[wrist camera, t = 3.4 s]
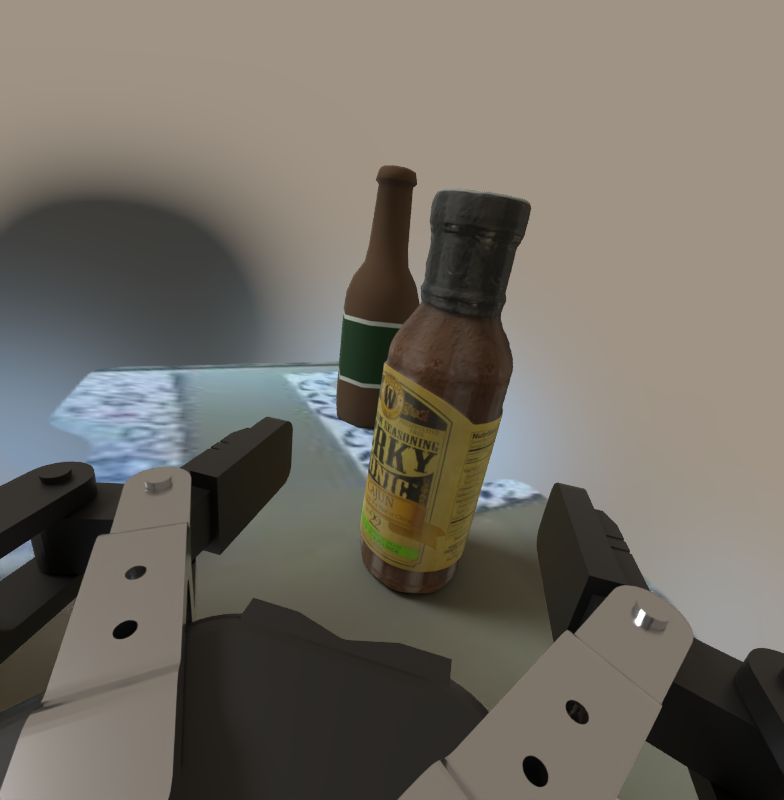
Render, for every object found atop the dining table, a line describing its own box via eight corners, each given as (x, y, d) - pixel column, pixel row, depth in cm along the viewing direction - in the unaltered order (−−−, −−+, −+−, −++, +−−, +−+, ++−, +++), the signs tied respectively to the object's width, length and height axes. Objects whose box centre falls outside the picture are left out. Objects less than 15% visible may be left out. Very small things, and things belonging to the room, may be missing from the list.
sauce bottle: (341, 537, 25) (378, 185, 18) (422, 516, 28) (483, 209, 21) (388, 621, 20) (468, 172, 12) (482, 584, 23) (589, 207, 15)
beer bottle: (352, 435, 38) (382, 152, 29) (321, 404, 44) (339, 162, 35) (416, 425, 42) (459, 175, 34) (380, 398, 48) (409, 180, 40)
